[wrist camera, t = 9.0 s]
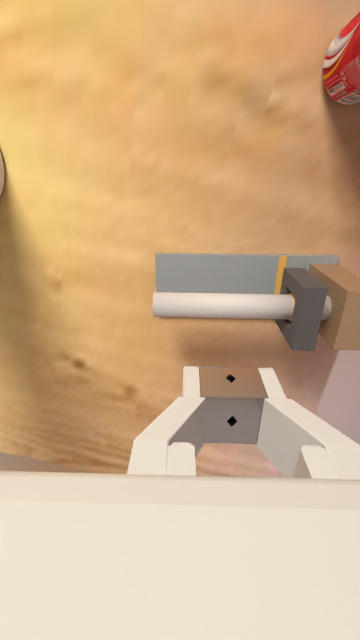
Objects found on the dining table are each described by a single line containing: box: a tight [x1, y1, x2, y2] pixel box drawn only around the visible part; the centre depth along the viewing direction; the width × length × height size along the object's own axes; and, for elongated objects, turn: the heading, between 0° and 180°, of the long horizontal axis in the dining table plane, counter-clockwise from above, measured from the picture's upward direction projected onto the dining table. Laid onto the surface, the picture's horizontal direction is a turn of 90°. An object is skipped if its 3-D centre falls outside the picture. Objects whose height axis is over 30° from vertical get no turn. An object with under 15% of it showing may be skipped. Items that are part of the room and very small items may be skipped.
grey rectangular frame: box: [275, 268, 328, 351], centre depth 36 cm, size 2×8×8 cm, turn 0°
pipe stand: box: [153, 253, 360, 350], centre depth 38 cm, size 25×9×12 cm, turn 89°
